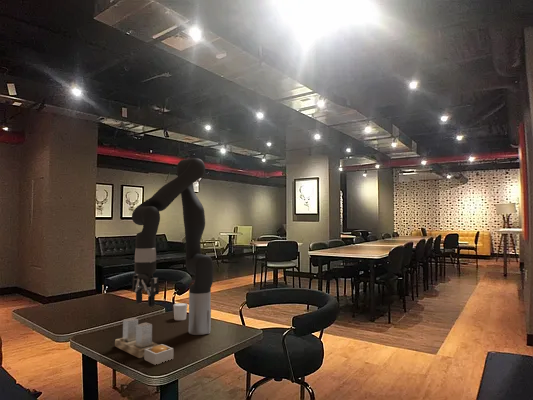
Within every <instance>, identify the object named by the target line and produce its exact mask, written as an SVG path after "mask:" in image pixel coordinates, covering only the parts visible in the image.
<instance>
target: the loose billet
mask: <svg viewBox="0 0 533 400" xmlns="http://www.w3.org/2000/svg"><path fill="white" fill-rule="evenodd" d="M152 342H153V324H152V323H149V322H142V323H138V324H137V325H136V347H137V348H140V349H143V348H146V347H150V346H152Z"/></svg>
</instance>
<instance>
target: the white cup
mask: <svg viewBox="0 0 533 400" xmlns="http://www.w3.org/2000/svg"><path fill="white" fill-rule="evenodd" d="M172 307H173V315H174V316H173V317H174V318H173V319H174V320H175V321H185V320H187V312H188V303H187V302H178V303H174V304H173V306H172Z"/></svg>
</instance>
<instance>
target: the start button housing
mask: <svg viewBox="0 0 533 400" xmlns="http://www.w3.org/2000/svg"><path fill="white" fill-rule="evenodd" d="M159 345H164V346H166V347H167V350H165V351H162V352H159V353H154V352H152V347H151V348H147V349H145V352H144V357H143V358H144V361H146V362H148V363H150V364H153V365H154V366H156V364H157V365H159V364H163V363H166V362H168V360H169V361H171V359H172V360H174V350H175V349H174V347H170V346H168V345H166V344H163V343H161V344H159ZM159 345H157V346H159ZM165 361H166V362H165ZM162 362H163V363H162Z"/></svg>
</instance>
